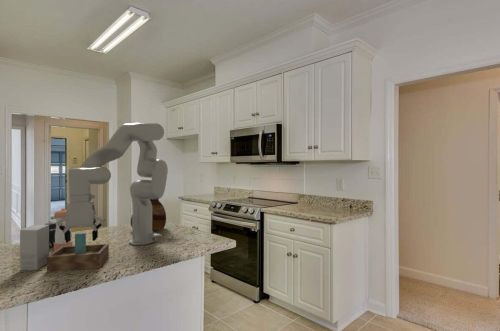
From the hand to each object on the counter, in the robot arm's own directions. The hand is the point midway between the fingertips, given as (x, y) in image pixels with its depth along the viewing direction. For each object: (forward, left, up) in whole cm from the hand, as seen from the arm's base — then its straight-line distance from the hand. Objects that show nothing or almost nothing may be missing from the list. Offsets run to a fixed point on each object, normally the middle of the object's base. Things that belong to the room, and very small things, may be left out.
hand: (81, 240), depth 119 cm
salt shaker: (+14, -21, -9) cm, 27 cm away
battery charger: (+21, -27, -9) cm, 36 cm away
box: (0, +1, -9) cm, 9 cm away
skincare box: (+16, +1, -9) cm, 19 cm away
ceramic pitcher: (-20, -53, -9) cm, 58 cm away
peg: (0, +1, -9) cm, 9 cm away
